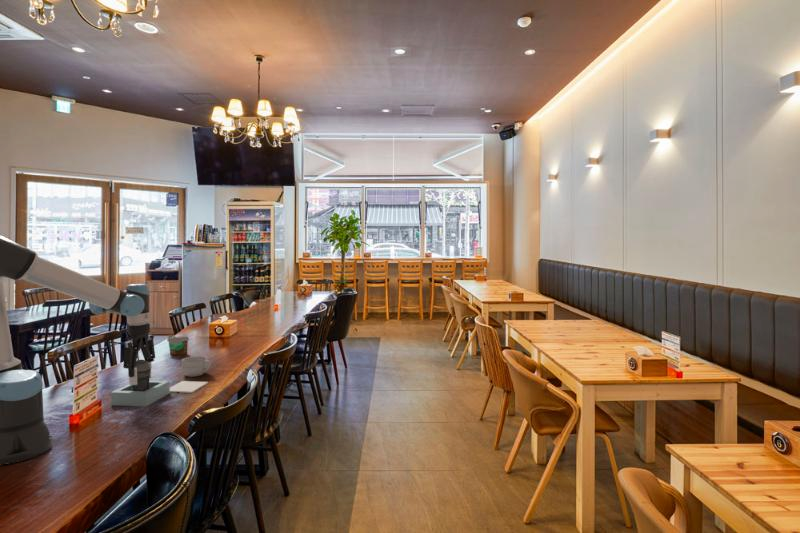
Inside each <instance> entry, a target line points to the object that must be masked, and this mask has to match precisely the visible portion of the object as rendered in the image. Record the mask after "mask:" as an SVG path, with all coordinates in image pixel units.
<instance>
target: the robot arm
mask: <svg viewBox="0 0 800 533" xmlns="http://www.w3.org/2000/svg"><path fill="white" fill-rule="evenodd" d="M6 279H12V280H14V281H20V280H24V281H26V282H28V283H29V282H30V283H33V284H36V285H38V286H41V287H43V288H47V289H49V290H53V291H55V292H58V293H61V294H63V295H66V296H70V297H71V298H74V299H76V300H77V299H78V300H80V301H83V302H86V303H88V307H89V310H90V311H91V313H92V314H95V315H98V314H106V313H108V314H109V313H110V314H115V315H121V316H125V317H126V324H127V330H126V331H127V335H129V340H128V341H124V342H123V348H124V349H123V352H124V353H123V366H122V368H123V369H128V378H129V382H128V384H130V385H137V368H135V365H136V361H137V360H138V359H137V356H138V355H139V353H140V351H141V354H142V356H143V360H145V361H147V362H148V363H149V364H150V368H151V370H150V377H149V379H152V362H154V361H155V359H156V351H155V343H154V342H155V341H154V338H155V336H154V334H149V333H151V324H150V321H151V320H150V290H149V289H150V288H149V286H148V285H147V284H146V283H132V284H127V285H126V286H125V289H124V290H121V289H119V288H116V287H114V286H112V285H110V284H107V283H104V282H102V281H99V280H96V279H94V278H92V277H89V276H87V275H85V274H82V273H79V272H77V271H75V270H72V269H70V268H67V267H66V266H65V267H64V266H63V265H61V264H57V263H55V262H52V261H50V260H48V259H45V258H43V257H40V256H39V255H38V253H37V251H36V250H32V249H30V248H28V247H25V246H23V245H22V244H19V243H18V242H15V241H13V240H11V239H9V238H7V237H5V236H3V235H0V464H6V463H13V464H15V463H14V462H18V461H21V462H24V461H23V460H25V461H27V460H26V459H28V460H31V459H34V458H36V457H38V456H40V455H42V454H44V453H46V452H47V451H49V450H50V449H51V448H52V447H53V441H54V440H53V436H52V434H51V433H50V430H49V428H48V426H47V425H46V423H45V419H44V418H45V417H44V398H43V385H44V384H43V380H42V375H41V373H40V372H38V371H36V370H33V369H32V370H31V369H23V366H22V360H21V359H18V358H17V357H15V356H14V349H13V343H12V337H11V332H10V331H11V330H10V323H9V318H8V312H7V311H8V310H7V304H6V296H5V290H4V285H3V282H4V280H6ZM30 458H31V459H30ZM18 463H19V462H18Z"/></svg>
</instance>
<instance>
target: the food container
mask: <svg viewBox="0 0 800 533" xmlns="http://www.w3.org/2000/svg"><path fill="white" fill-rule="evenodd" d="M166 340H167V342H168V347H169V355H170V356H171V355H173V356H172V357H178V356H179V355H181V356H187V355H188V344H189V343H188V342H189V341H190V339H189V336H188V335H187V336H173V335H172V334H170V335H168V337H167V339H166ZM179 357H180V356H179Z"/></svg>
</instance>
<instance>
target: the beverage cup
mask: <svg viewBox="0 0 800 533" xmlns="http://www.w3.org/2000/svg"><path fill="white" fill-rule="evenodd" d="M135 368H137V385H132V386H133V391H146V390H148V389H149V381H150V378H149V377H150V370H151V371H152V368H150V364H149V363H148V362H147V361H145V360H144V359H140V356H139V354H138V356H137V361H136V365H135Z"/></svg>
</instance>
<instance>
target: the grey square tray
mask: <svg viewBox="0 0 800 533" xmlns="http://www.w3.org/2000/svg"><path fill="white" fill-rule="evenodd" d="M170 387H171V386H170V380H149V389H148V390H146V391H133V386H132V385H130V384H129V383H128V384H126V385H123V386H122V387H119V388H118V389H114V390H113V391H111V392H110V400H111V401H110V402H111V403H110V404H111V406H125V407H144V408H145V407H148V406H149V405H151V404H153V403H155V402H157V401H159V400H160V399H162V398H164V397H166V396H167V395H170V393H171V392H170ZM158 399H159V400H158Z"/></svg>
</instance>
